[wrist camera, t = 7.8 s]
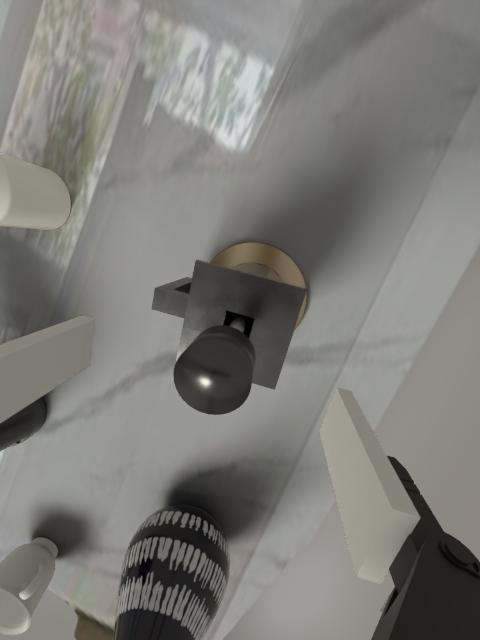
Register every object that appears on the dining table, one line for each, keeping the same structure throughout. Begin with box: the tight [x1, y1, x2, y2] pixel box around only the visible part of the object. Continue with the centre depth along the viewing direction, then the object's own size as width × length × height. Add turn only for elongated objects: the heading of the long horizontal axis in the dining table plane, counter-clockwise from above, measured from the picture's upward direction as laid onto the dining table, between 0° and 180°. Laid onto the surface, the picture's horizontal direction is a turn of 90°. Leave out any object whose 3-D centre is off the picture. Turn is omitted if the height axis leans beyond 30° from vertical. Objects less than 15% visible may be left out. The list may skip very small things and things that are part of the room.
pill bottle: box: [0, 153, 71, 230], centre depth 30 cm, size 8×8×11 cm
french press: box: [152, 260, 307, 390], centre depth 29 cm, size 13×9×13 cm
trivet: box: [210, 242, 307, 330], centre depth 35 cm, size 14×14×1 cm
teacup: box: [0, 537, 58, 635], centre depth 49 cm, size 12×15×10 cm
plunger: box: [174, 311, 256, 415], centre depth 23 cm, size 7×7×19 cm
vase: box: [113, 504, 230, 640], centre depth 33 cm, size 16×16×30 cm
